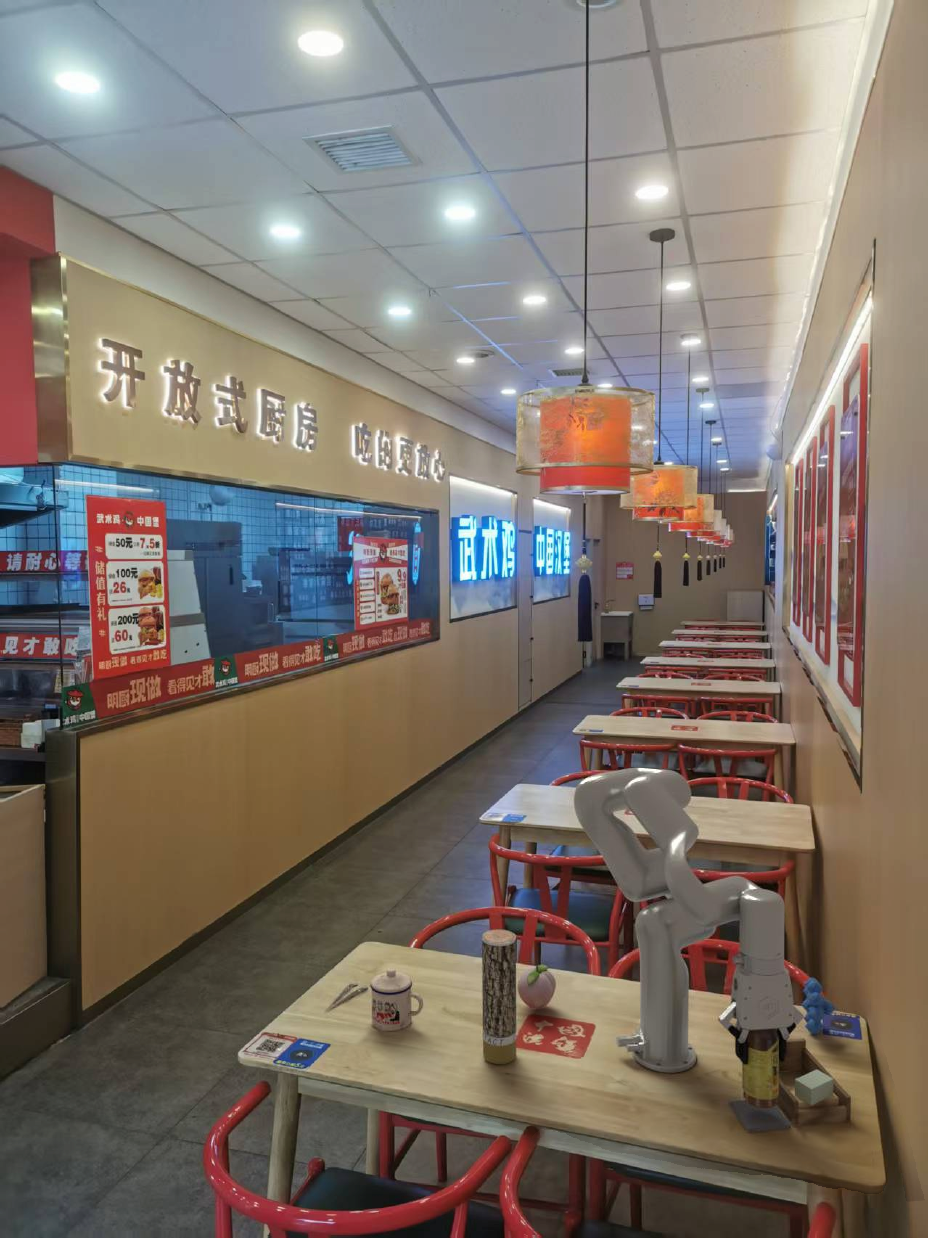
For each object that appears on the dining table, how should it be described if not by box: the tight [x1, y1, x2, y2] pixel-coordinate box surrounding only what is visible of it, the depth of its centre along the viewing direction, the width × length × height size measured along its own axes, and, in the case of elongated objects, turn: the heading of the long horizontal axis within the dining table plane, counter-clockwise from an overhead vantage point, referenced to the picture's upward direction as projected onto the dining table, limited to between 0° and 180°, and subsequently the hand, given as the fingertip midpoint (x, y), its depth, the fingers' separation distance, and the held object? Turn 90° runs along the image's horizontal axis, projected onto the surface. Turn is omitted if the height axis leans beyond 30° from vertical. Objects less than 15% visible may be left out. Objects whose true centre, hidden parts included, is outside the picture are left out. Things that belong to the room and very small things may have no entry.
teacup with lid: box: [369, 967, 424, 1032], centre depth 192 cm, size 12×9×12 cm
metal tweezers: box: [323, 982, 369, 1015], centre depth 202 cm, size 17×5×2 cm, turn 151°
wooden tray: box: [776, 1038, 852, 1127], centre depth 165 cm, size 11×17×6 cm, turn 6°
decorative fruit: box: [516, 964, 557, 1010], centre depth 198 cm, size 9×8×10 cm
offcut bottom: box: [790, 1090, 839, 1109], centre depth 160 cm, size 8×4×4 cm, turn 100°
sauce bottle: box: [741, 1029, 780, 1108], centre depth 158 cm, size 7×6×20 cm
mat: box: [728, 1099, 792, 1133], centre depth 159 cm, size 8×8×1 cm
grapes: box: [801, 977, 836, 1036], centre depth 186 cm, size 12×7×12 cm, turn 165°
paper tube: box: [481, 929, 517, 1065], centre depth 178 cm, size 7×7×25 cm
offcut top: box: [794, 1070, 834, 1105], centre depth 160 cm, size 6×4×3 cm, turn 121°
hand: (760, 1058), depth 159 cm, fingers closed on sauce bottle, 6 cm apart
